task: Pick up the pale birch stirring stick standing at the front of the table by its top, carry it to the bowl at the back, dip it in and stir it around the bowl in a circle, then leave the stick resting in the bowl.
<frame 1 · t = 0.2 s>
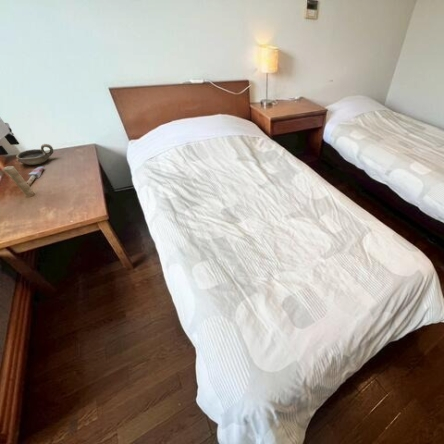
hand: (9, 149, 110), 26 cm above the table, tool pointing down, fingers open, 9 cm apart
stick: (30, 194, 128), on the table
paintbrush: (35, 178, 138), on the table
bowl: (41, 162, 150), on the table
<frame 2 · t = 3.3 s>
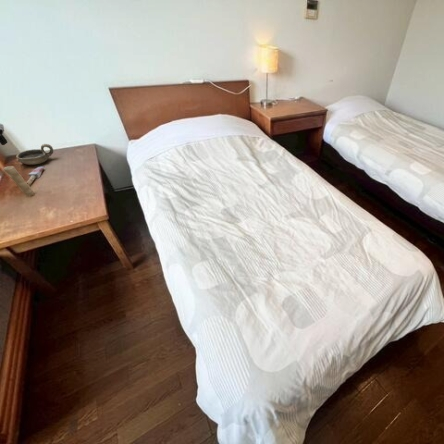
nothing on the table moved.
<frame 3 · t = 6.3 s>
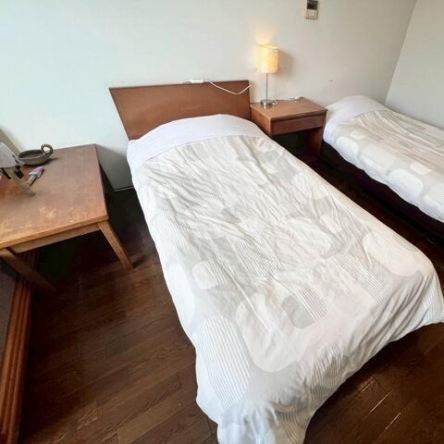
hand: (16, 177, 120), 11 cm above the table, tool pointing down, fingers closed on stick, 3 cm apart
stick: (30, 194, 128), on the table, touching gripper
everything else where it was.
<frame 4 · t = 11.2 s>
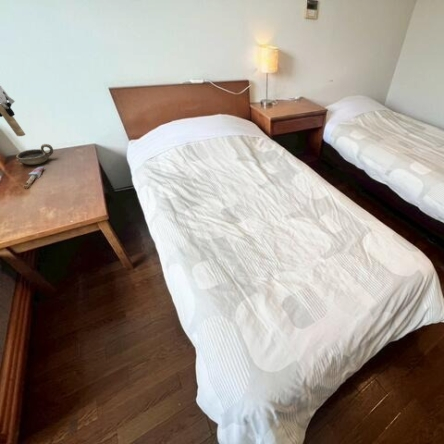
hand: (7, 115, 129), 28 cm above the table, tool pointing down, fingers closed on stick, 3 cm apart
stick: (21, 135, 137), point 18 cm above the table, touching gripper
everything else where it was.
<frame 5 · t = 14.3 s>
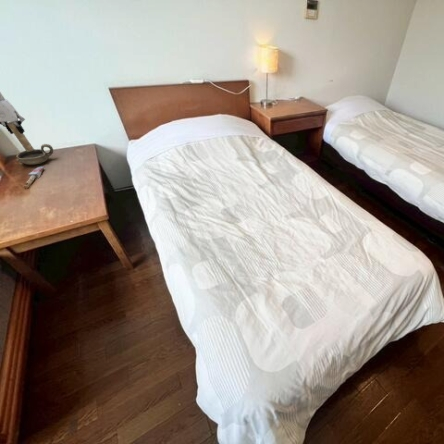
hand: (17, 132, 137), 19 cm above the table, tool pointing down, fingers closed on stick, 3 cm apart
stick: (30, 150, 144), point 8 cm above the table, touching gripper
everything else where it was.
when the fingers open (17 cm above the table, at t = 16.3 s): stick stays where it is, resting on bowl.
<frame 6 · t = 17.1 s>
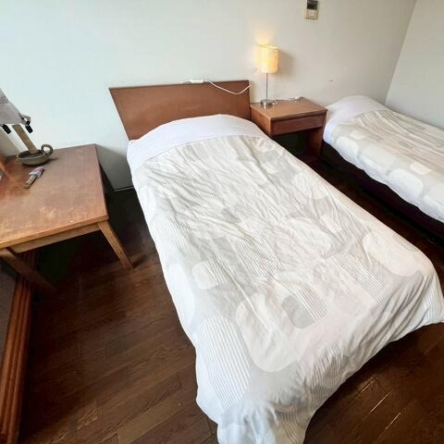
hand: (20, 132, 137), 18 cm above the table, tool pointing down, fingers open, 9 cm apart
stick: (34, 152, 145), point 7 cm above the table, touching bowl
bowl: (41, 162, 150), on the table, touching stick
everything else where it was.
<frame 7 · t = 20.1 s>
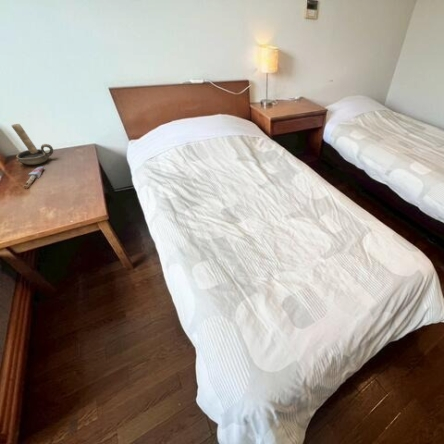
nothing on the table moved.
at the end: stick inside the target area in the bowl (0.1 cm from its centre), point 6.7 cm above the bowl's base; the gripper is holding nothing; bowl moved 0.2 cm from its start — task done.
